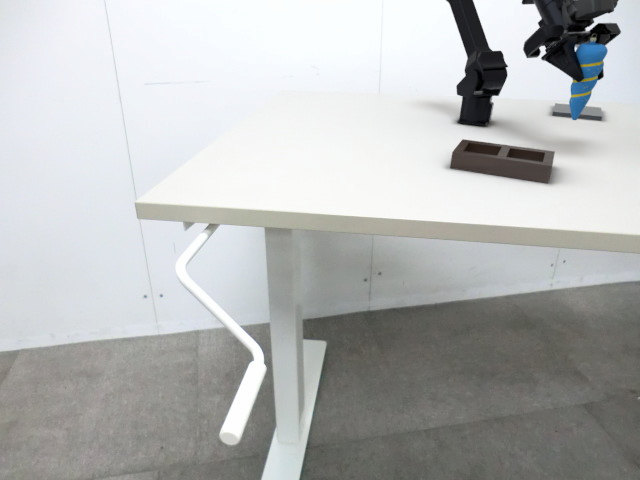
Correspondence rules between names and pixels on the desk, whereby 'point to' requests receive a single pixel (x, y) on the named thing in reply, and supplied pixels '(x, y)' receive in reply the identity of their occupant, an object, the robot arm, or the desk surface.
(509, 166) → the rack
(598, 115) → the coaster
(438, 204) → the desk surface
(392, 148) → the desk surface
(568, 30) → the robot arm
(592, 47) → the ornament
